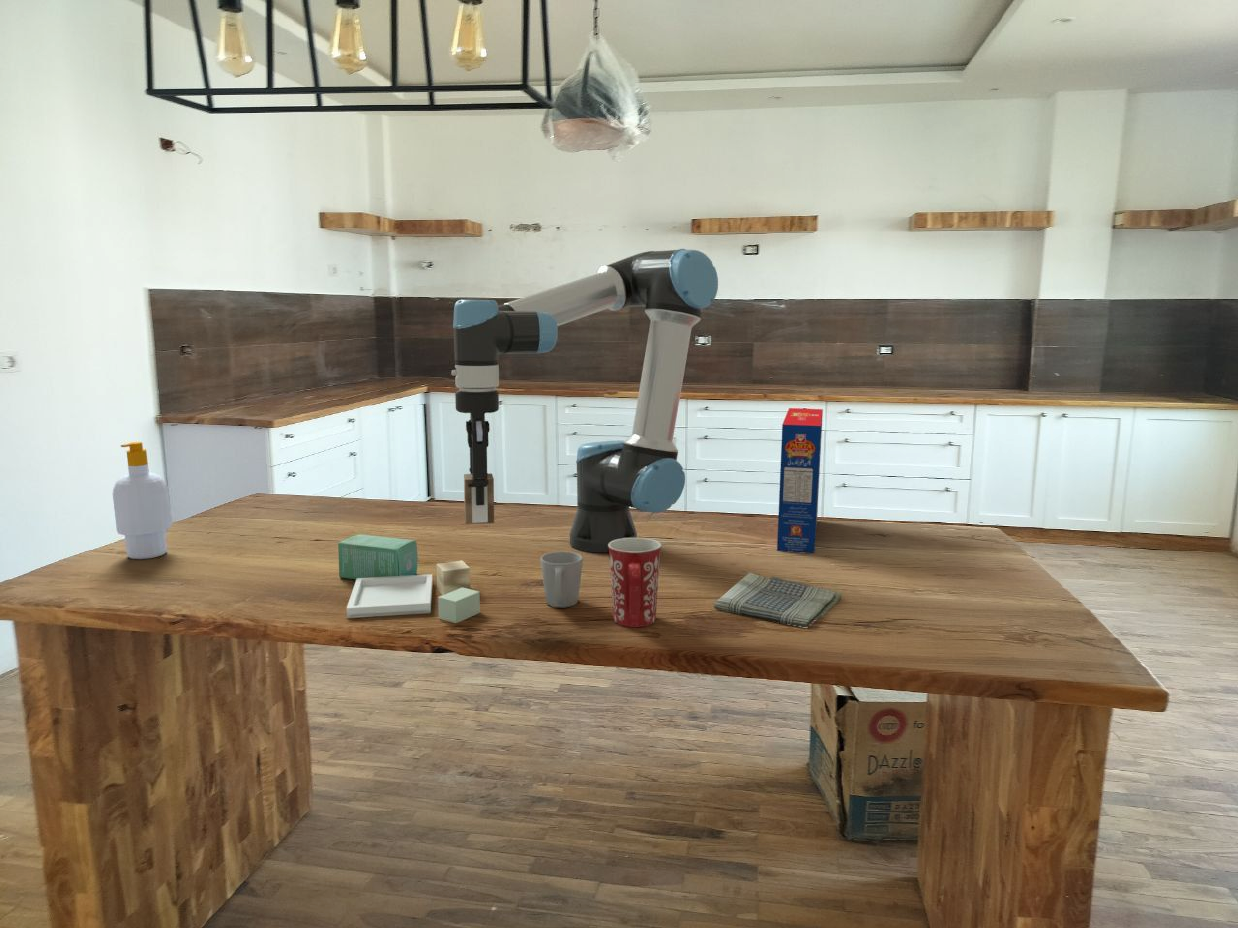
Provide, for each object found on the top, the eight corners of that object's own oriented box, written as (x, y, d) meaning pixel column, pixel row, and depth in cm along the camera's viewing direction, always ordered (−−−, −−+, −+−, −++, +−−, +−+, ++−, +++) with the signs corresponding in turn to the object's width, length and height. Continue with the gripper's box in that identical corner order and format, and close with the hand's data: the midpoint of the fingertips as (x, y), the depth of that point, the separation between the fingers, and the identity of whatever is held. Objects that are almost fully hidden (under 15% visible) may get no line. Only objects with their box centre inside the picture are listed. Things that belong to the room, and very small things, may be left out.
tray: (432, 583, 165) (432, 574, 164) (430, 612, 149) (430, 603, 149) (357, 587, 162) (356, 578, 162) (347, 618, 147) (346, 608, 146)
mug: (609, 609, 151) (609, 536, 149) (660, 610, 151) (661, 537, 148) (604, 637, 139) (604, 558, 136) (660, 639, 138) (661, 559, 136)
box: (400, 585, 163) (398, 548, 162) (338, 579, 167) (336, 542, 166) (419, 574, 170) (417, 538, 169) (359, 568, 174) (357, 532, 173)
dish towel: (808, 633, 142) (809, 614, 142) (712, 612, 152) (712, 594, 151) (843, 600, 158) (844, 583, 157) (753, 583, 167) (754, 567, 167)
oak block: (463, 585, 164) (462, 560, 163) (470, 593, 159) (469, 567, 158) (437, 588, 162) (436, 563, 161) (444, 597, 157) (443, 571, 156)
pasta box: (784, 519, 213) (789, 408, 208) (817, 521, 211) (822, 409, 206) (776, 550, 187) (782, 424, 181) (814, 553, 185) (820, 426, 179)
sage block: (463, 608, 152) (462, 587, 151) (480, 613, 150) (479, 591, 149) (438, 619, 147) (438, 597, 146) (455, 624, 145) (455, 601, 144)
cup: (584, 595, 158) (584, 551, 156) (579, 615, 148) (579, 568, 147) (544, 594, 158) (543, 550, 157) (536, 614, 149) (535, 567, 147)
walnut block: (492, 516, 157) (491, 473, 155) (494, 523, 152) (493, 479, 150) (464, 517, 156) (464, 474, 154) (465, 524, 151) (464, 479, 149)
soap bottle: (108, 558, 179) (95, 445, 174) (151, 545, 188) (139, 437, 183) (143, 564, 175) (131, 448, 170) (185, 551, 184) (174, 440, 180)
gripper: (454, 384, 157) (456, 507, 162) (456, 394, 140) (459, 532, 144) (495, 384, 159) (496, 505, 163) (502, 394, 141) (504, 530, 146)
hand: (479, 517), depth 154 cm, fingers closed on walnut block, 5 cm apart
